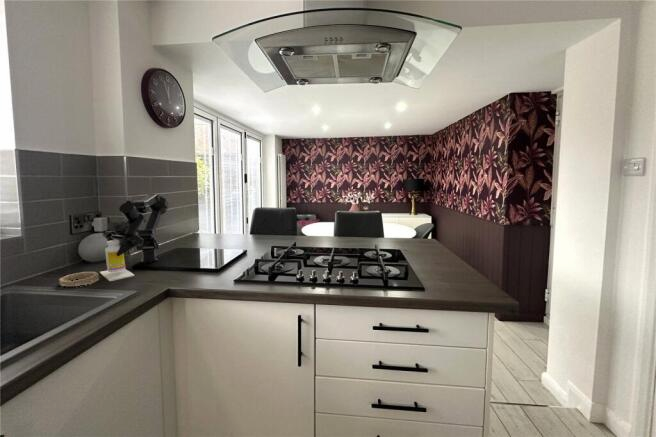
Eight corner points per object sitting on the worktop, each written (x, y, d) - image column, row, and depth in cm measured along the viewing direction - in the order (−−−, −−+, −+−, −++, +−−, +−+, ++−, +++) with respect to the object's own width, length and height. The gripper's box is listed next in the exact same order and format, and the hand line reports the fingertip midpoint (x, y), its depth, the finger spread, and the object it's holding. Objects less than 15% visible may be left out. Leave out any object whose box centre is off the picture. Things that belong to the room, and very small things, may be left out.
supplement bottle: (128, 269, 141) (125, 240, 139) (112, 273, 136) (108, 243, 134) (120, 266, 145) (117, 238, 143) (104, 270, 139) (101, 241, 137)
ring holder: (58, 282, 131) (57, 276, 131) (94, 275, 140) (93, 269, 139) (63, 290, 123) (62, 283, 122) (101, 281, 131) (100, 276, 131)
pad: (100, 273, 143) (99, 271, 143) (123, 268, 149) (123, 267, 149) (109, 281, 132) (109, 280, 132) (134, 275, 138) (134, 274, 138)
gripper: (104, 213, 143) (81, 243, 135) (134, 215, 137) (112, 247, 128) (123, 227, 152) (102, 256, 144) (152, 230, 145) (132, 260, 137)
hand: (111, 254), depth 138 cm, fingers closed on supplement bottle, 7 cm apart
